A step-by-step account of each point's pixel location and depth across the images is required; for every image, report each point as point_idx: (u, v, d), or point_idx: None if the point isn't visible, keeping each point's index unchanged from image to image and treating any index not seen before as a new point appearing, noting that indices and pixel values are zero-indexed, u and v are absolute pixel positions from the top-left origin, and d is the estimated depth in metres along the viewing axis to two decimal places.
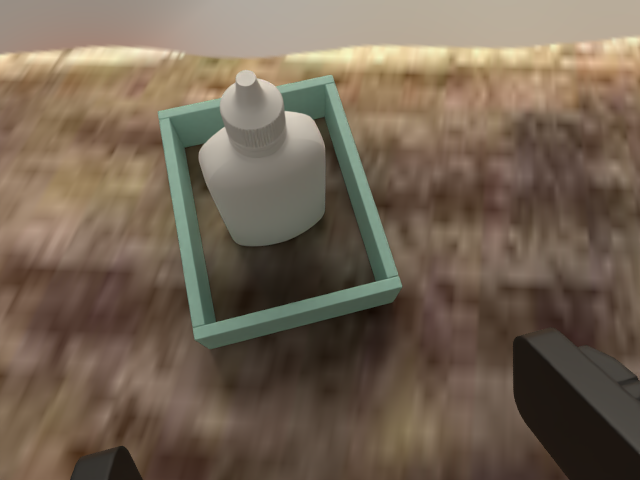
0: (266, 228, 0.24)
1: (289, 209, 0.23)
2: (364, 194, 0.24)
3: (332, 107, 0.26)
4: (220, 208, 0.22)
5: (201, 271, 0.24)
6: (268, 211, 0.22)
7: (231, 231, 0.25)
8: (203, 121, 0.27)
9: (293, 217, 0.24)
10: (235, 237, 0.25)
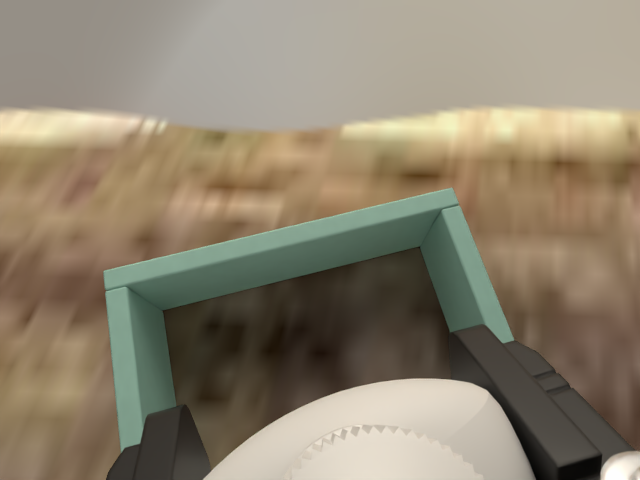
0: None
1: None
2: None
3: (460, 260, 0.13)
4: None
5: None
6: None
7: None
8: (197, 280, 0.14)
9: None
10: None
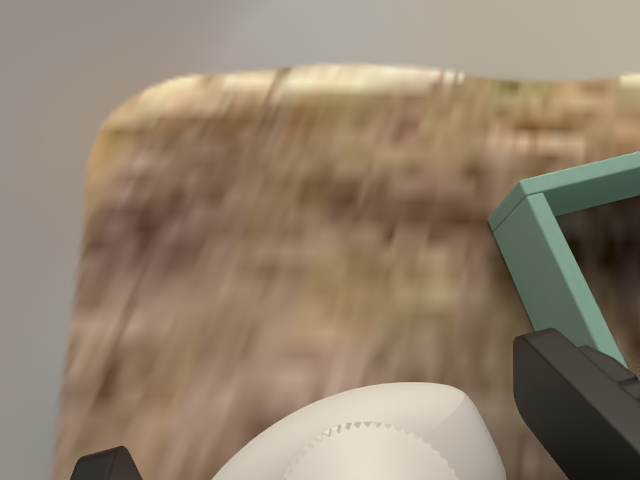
0: None
1: None
2: None
3: None
4: None
5: None
6: None
7: None
8: (575, 193, 0.16)
9: None
10: None
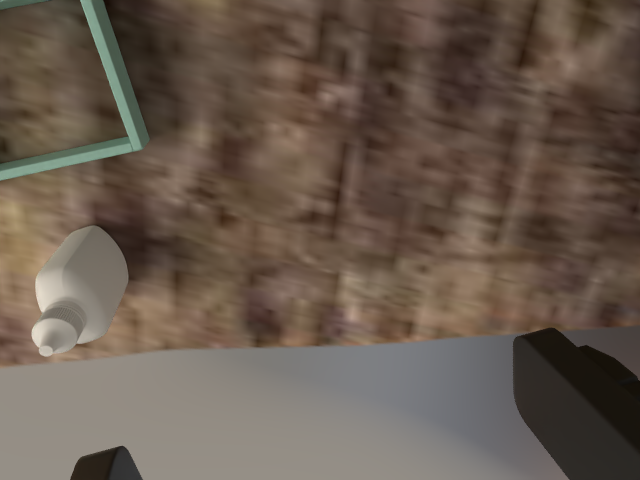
0: (119, 274, 0.34)
1: (106, 268, 0.32)
2: None
3: None
4: None
5: (87, 148, 0.31)
6: (111, 284, 0.32)
7: (122, 295, 0.35)
8: None
9: (108, 259, 0.33)
10: None
